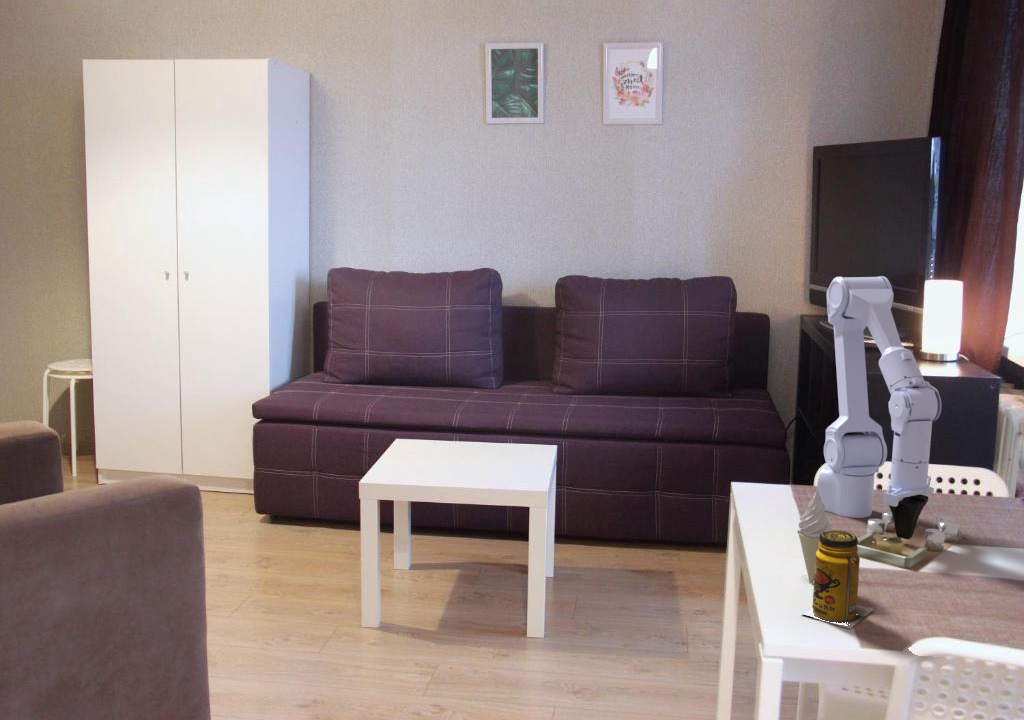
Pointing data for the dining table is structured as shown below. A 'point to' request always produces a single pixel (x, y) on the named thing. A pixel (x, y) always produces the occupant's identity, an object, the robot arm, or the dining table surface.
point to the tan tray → (911, 551)
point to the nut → (888, 544)
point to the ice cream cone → (812, 532)
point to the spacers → (933, 537)
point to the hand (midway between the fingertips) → (904, 537)
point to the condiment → (837, 579)
